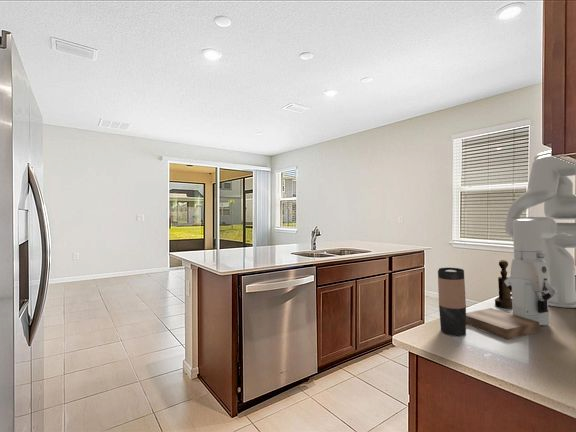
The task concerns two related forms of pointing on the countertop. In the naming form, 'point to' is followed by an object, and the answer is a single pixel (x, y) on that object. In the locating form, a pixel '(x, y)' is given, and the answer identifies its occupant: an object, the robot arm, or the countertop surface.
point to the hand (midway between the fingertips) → (529, 308)
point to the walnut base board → (501, 323)
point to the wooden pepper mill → (503, 288)
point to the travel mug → (452, 301)
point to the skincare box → (527, 302)
